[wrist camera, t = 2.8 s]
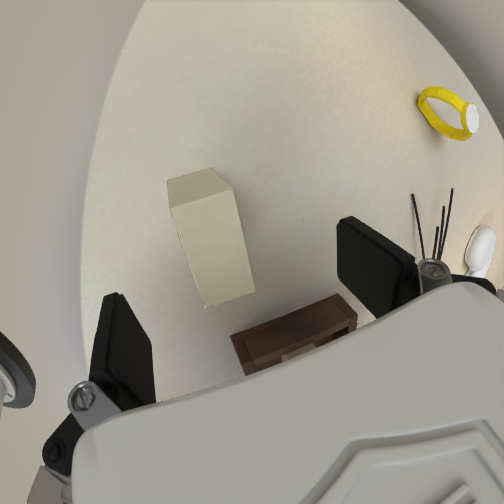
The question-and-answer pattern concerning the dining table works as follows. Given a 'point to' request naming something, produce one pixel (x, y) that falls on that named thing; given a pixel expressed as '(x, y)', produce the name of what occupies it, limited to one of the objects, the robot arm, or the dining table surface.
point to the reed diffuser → (436, 229)
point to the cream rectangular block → (211, 236)
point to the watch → (466, 109)
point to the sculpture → (480, 251)
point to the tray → (294, 333)
